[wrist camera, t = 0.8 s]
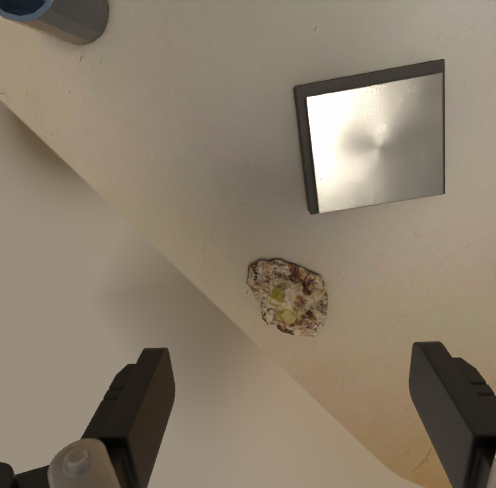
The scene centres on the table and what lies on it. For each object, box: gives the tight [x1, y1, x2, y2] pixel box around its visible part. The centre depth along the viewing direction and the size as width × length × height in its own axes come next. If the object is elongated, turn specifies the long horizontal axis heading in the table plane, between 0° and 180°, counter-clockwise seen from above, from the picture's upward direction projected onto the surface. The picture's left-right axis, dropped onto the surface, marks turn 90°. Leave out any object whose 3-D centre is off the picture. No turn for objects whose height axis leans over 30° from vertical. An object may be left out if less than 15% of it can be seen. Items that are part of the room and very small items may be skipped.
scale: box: [294, 59, 445, 214], centre depth 35 cm, size 12×13×3 cm
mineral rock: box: [246, 259, 328, 337], centre depth 41 cm, size 11×4×8 cm
